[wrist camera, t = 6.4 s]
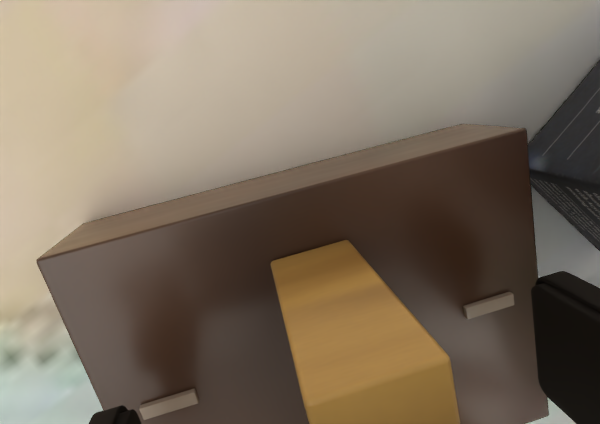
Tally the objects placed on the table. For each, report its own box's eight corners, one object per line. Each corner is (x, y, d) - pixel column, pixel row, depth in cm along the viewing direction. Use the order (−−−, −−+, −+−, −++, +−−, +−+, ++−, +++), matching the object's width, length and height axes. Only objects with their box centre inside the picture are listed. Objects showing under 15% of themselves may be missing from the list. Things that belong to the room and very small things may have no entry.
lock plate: (462, 122, 13) (532, 127, 10) (491, 359, 15) (554, 420, 12) (81, 223, 12) (30, 262, 9) (178, 460, 14) (163, 553, 11)
